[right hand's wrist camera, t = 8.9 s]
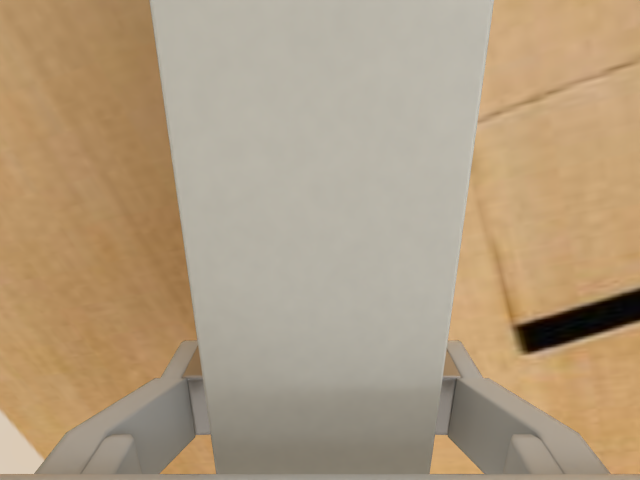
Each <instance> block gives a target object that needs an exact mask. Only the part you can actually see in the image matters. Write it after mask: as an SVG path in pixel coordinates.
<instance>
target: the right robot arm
mask: <svg viewBox="0 0 640 480" xmlns="http://www.w3.org/2000/svg"><path fill="white" fill-rule="evenodd" d="M209 434H211V432H210V425H209V418H208V411H207V404H206V397H205V390H204V383H203V376H202V369H201V362H200V355H199V348H198V340H185V341H183V342H182V343H181V344H180V346H179V347H178V349H177V351H176V352H175V354H174V356H173V357H172V359H171V361H170V362H169V364H168V366H167V368H166V369H165V371H164V373H163V374H162V376H161V378H154V379H153V380H151V381H150V382H148V383H146V384H145V385H143V386H141V387H140V388H138V389H137V390H135V391H133V392H132V393H130V394H128V395H127V396H125V397H124V398H122V399H120V400H119V401H117V402H115V403H114V404H112V405H111V406H109V407H107V408H106V409H104V410H102V411H101V412H99V413H98V414H96V415H94V416H93V417H91V418H89V419H88V420H86V421H85V422H83V423H81V424H80V425H78V426H76V427H75V428H73V429H72V430H70V431H68V432H67V433H66V434H65V435H64V436H63V438H62V439H61V440H60V441H59V443H58V444H57V445H56V447H55V448H54V449H53V450H52V452H51V453H50V454H49V455H48V457H47V458H46V459H45V461H44V462H43V463H42V464H41V466H40V467H39V468H38V470H37V471H36V472H35V473H34V474H0V480H640V474H610V472H609V471H608V470H607V468H606V467H605V466H604V465H603V463H602V462H601V461H600V460H599V458H598V457H597V456H596V455H595V453H594V452H593V451H592V449H591V448H590V447H589V446H588V444H587V443H586V442H585V441H584V439H583V438H582V437H581V436H580V434H579V433H577V432H576V431H574V430H572V429H571V428H569V427H568V426H566V425H564V424H563V423H561V422H559V421H558V420H556V419H554V418H553V417H551V416H550V415H548V414H546V413H545V412H543V411H541V410H540V409H538V408H537V407H535V406H533V405H532V404H530V403H528V402H527V401H525V400H523V399H522V398H520V397H519V396H517V395H515V394H514V393H512V392H510V391H509V390H507V389H505V388H504V387H502V386H501V385H499V384H497V383H496V382H494V381H492V380H491V379H489V378H483V377H482V375H481V374H480V372H479V370H478V369H477V367H476V365H475V364H474V362H473V361H472V359H471V357H470V356H469V354H468V352H467V351H466V349H465V347H464V346H463V344H462V343H461V342H460V341H459V340H449V341H448V342H447V349H446V356H445V364H444V371H443V378H442V386H441V393H440V400H439V408H438V415H437V423H436V430H435V435H448V437H449V438H450V439H451V440H452V441H453V442H454V443H455V444H456V445H457V446H458V447H459V448H460V449H461V450H462V451H463V452H464V453H465V454H466V455H467V456H468V457H469V458H470V459H471V460H472V461H473V462H474V463H475V465H476V466H477V467H478V468H479V469H480V470H481V471H482V472H483V473H484V474H159V473H160V472H161V471H162V470H163V469H164V468H165V467H166V466H167V465H168V464H169V463H170V462H171V461H172V460H173V459H174V458H175V457H176V456H177V455H178V454H179V453H180V452H181V451H182V450H183V449H184V448H185V447H186V446H187V445H188V444H189V443H190V442H191V441H192V440H193V439H194V438H195V435H209Z"/></svg>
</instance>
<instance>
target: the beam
mask: <svg viewBox="0 0 640 480" xmlns="http://www.w3.org/2000/svg"><path fill="white" fill-rule="evenodd" d="M149 1H150V8H151V15H152V22H153V29H154V36H155V43H156V50H157V57H158V65H159V72H160V79H161V86H162V93H163V100H164V107H165V114H166V121H167V128H168V135H169V142H170V149H171V157H172V164H173V171H174V178H175V185H176V192H177V199H178V206H179V213H180V220H181V227H182V234H183V241H184V248H185V256H186V263H187V270H188V277H189V284H190V291H191V298H192V305H193V312H194V319H195V326H196V333H197V340H198V348H199V355H200V362H201V369H202V376H203V383H204V390H205V397H206V404H207V411H208V418H209V425H210V432H211V439H212V447H213V454H214V461H215V468H216V474H430V467H431V459H432V452H433V445H434V437H435V430H436V423H437V415H438V408H439V400H440V393H441V386H442V378H443V371H444V364H445V356H446V349H447V342H448V334H449V327H450V320H451V312H452V305H453V298H454V290H455V283H456V276H457V268H458V261H459V254H460V246H461V239H462V231H463V224H464V217H465V209H466V202H467V195H468V187H469V180H470V173H471V165H472V158H473V151H474V143H475V136H476V129H477V121H478V114H479V107H480V99H481V92H482V84H483V77H484V70H485V62H486V55H487V48H488V40H489V33H490V26H491V18H492V11H493V4H494V0H149Z"/></svg>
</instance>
